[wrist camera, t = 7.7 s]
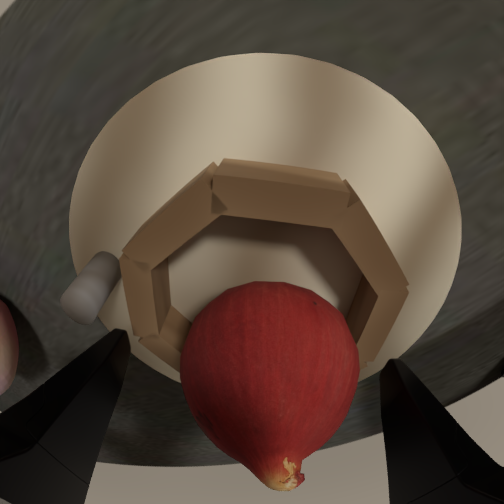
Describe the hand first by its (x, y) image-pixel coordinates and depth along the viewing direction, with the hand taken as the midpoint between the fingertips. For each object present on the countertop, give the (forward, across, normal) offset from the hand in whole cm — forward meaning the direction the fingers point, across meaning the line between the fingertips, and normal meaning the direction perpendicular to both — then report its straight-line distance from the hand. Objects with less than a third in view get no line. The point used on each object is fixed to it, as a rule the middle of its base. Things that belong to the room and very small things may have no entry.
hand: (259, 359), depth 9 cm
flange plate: (+5, 0, 0) cm, 5 cm away
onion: (+4, 0, 0) cm, 4 cm away
